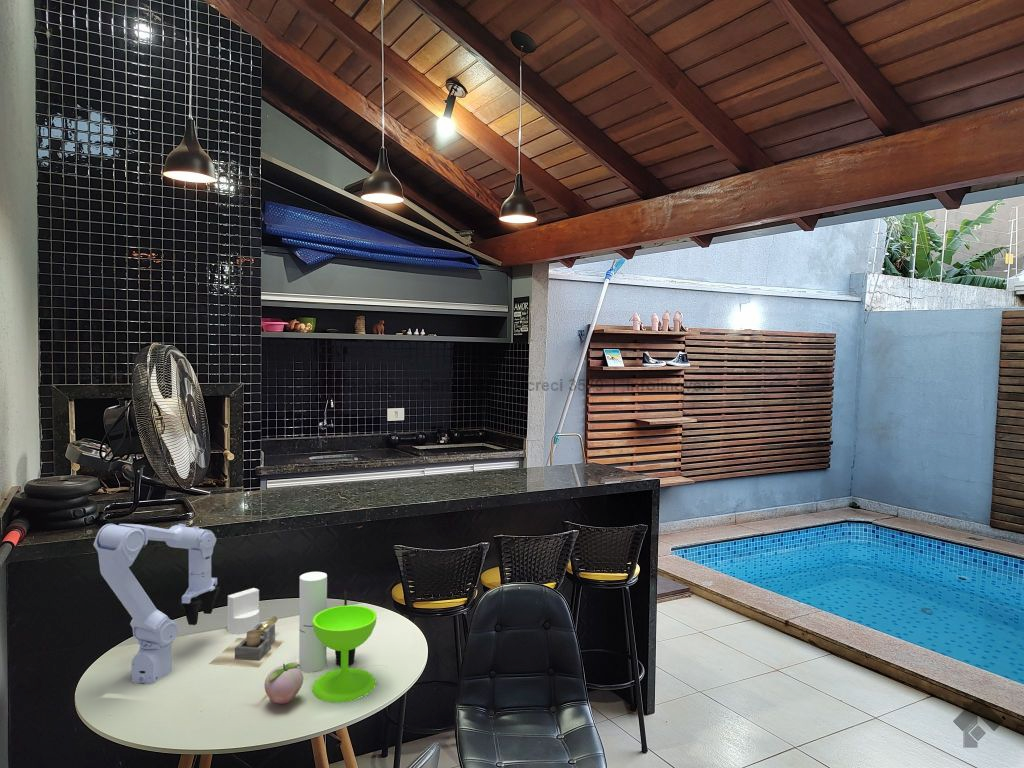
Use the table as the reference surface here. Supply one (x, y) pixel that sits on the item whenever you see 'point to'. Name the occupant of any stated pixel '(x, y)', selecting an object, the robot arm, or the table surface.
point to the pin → (268, 624)
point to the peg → (253, 638)
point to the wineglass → (344, 651)
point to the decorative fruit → (284, 683)
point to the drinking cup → (351, 652)
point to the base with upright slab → (243, 611)
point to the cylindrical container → (311, 621)
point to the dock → (249, 650)
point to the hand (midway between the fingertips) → (200, 618)
